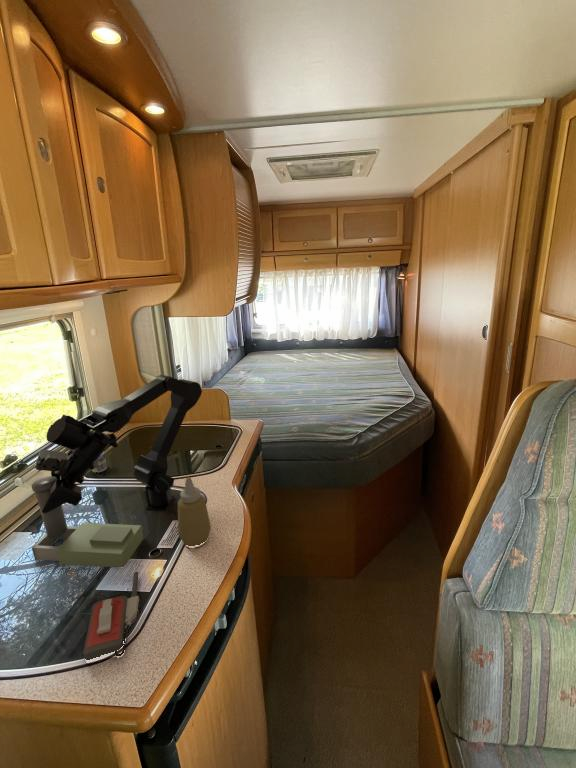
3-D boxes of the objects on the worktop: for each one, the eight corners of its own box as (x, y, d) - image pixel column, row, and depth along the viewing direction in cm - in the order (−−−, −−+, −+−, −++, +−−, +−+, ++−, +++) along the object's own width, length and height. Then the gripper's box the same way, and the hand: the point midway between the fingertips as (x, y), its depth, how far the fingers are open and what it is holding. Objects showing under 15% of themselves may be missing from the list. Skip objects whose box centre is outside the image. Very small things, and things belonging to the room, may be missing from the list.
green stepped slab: (143, 538, 98) (140, 521, 96) (123, 567, 89) (120, 549, 87) (59, 534, 101) (55, 517, 99) (31, 562, 91) (26, 544, 89)
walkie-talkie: (136, 658, 68) (142, 575, 87) (132, 639, 67) (139, 560, 85) (82, 674, 66) (100, 586, 84) (77, 655, 65) (96, 570, 83)
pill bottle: (101, 473, 130) (96, 451, 128) (89, 472, 131) (84, 450, 128) (110, 466, 134) (106, 445, 132) (98, 465, 135) (94, 444, 133)
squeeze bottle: (192, 557, 91) (183, 492, 86) (173, 542, 96) (164, 480, 91) (218, 539, 97) (212, 477, 92) (199, 526, 102) (192, 466, 97)
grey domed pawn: (73, 525, 96) (62, 476, 92) (60, 539, 91) (46, 488, 87) (54, 524, 97) (42, 476, 92) (40, 538, 92) (25, 488, 87)
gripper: (55, 424, 96) (13, 475, 94) (52, 454, 81) (3, 516, 79) (95, 445, 102) (57, 493, 100) (100, 476, 87) (55, 534, 85)
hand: (43, 507), depth 91 cm, fingers closed on grey domed pawn, 4 cm apart
